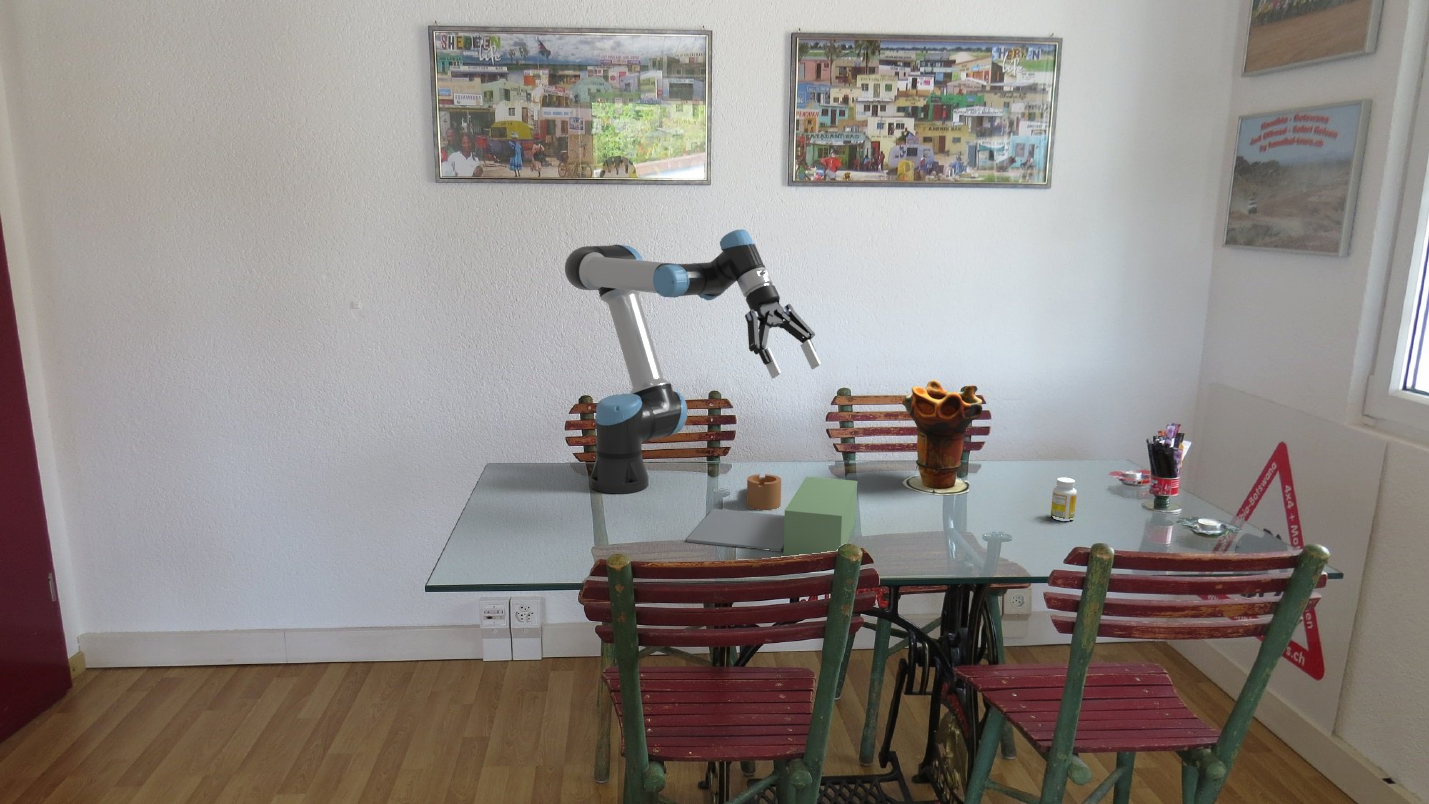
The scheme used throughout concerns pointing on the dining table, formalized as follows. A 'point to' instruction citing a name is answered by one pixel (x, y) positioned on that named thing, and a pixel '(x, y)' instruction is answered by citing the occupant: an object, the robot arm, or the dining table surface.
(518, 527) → the dining table surface
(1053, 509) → the supplement bottle
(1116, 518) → the dining table surface
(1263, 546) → the dining table surface
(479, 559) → the dining table surface
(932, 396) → the decorative vase
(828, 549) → the green cube on tray
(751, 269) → the robot arm
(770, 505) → the bracket
